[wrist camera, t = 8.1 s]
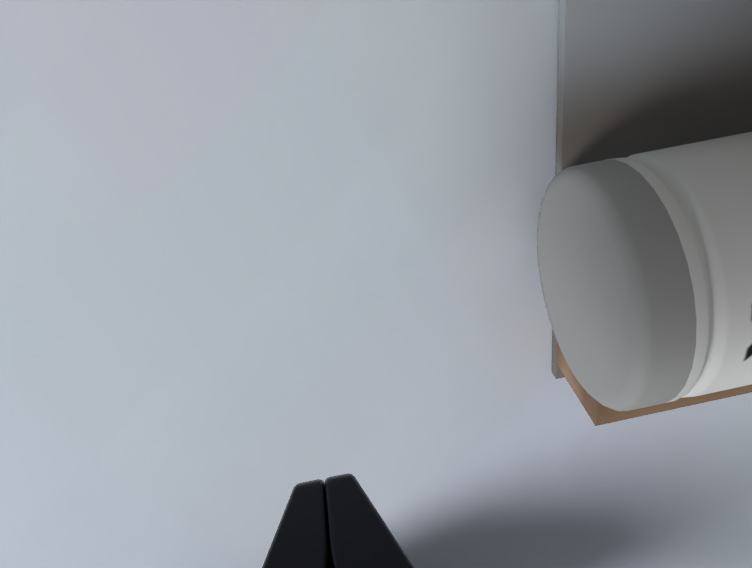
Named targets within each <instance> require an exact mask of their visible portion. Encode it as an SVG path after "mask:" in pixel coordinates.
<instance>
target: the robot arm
mask: <svg viewBox="0 0 752 568" xmlns="http://www.w3.org/2000/svg"><path fill="white" fill-rule="evenodd" d="M262 568H414V567H413V565H412V564H411V562H410V561H409V559H408V558H407V556H406V555H405V553H404V551H403V550H402V548H401V547H400V545H399V544H398V542H397V541H396V539H395V538H394V536H393V535H392V533H391V532H390V530H389V529H388V527H387V526H386V524H385V522H384V521H383V519H382V518H381V516H380V515H379V513H378V512H377V510H376V509H375V507H374V506H373V504H372V503H371V501H370V500H369V498H368V497H367V495H366V494H365V492H364V490H363V489H362V487H361V486H360V484H359V483H358V481H357V480H356V478H355V477H354V476H353V475H352V474H343V475H338V476H333V477H329V478H327V479H326V480H325V483H324V482H323V481H322V480H319V479H318V480H313V481H308V482H303V483H299V484H297V485H296V486H295V487H294V489H293V491H292V494H291V496H290V499H289V501H288V504H287V506H286V509H285V511H284V514H283V516H282V519H281V522H280V524H279V527H278V529H277V532H276V534H275V537H274V539H273V542H272V544H271V547H270V549H269V552H268V554H267V557H266V559H265V562H264V564H263V567H262Z"/></svg>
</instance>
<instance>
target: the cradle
mask: <svg viewBox="0 0 752 568" xmlns="http://www.w3.org/2000/svg"><path fill="white" fill-rule="evenodd" d="M747 132H752V0H559V34H558V83H557V132H556V175H557V174H558V173H559V172H560V171H562V170H564V169H566V168H567V167H571V166H576V165H581V164H586V163H591V162H597V161H602V160H607V159H612V158H626V157H628V156H630V155H633V154H638V153H643V152H649V151H654V150H659V149H664V148H669V147H674V146H680V145H685V144H690V143H695V142H700V141H706V140H711V139H716V138H721V137H726V136H732V135H737V134H742V133H747ZM552 373H553V374H554V376H555V378H556V379H557V378H562V377H565V378H566V379H567V381H568V383H569V384H570V386H571V387H572V389H573V391H574V392H575V394H576V395H577V397H578V399H579V400H580V402H581V403H582V405H583V407H584V408H585V410H586V411H587V413H588V414H589V416H590V418H591V419H592V421H593V422H594V424H595V426H597V425H602V424H606V423H611V422H616V421H620V420H625V419H629V418H634V417H639V416H643V415H648V414H653V413H657V412H662V411H666V410H671V409H676V408H680V407H685V406H690V405H694V404H699V403H703V402H708V401H713V400H717V399H722V398H727V397H731V396H736V395H740V394H745V393H750V392H752V384H751V385H746V386H742V387H737V388H733V389H728V390H723V391H719V392H714V393H709V394H705V395H700V396H695V397H684V398H679V399H678V400H676V401H672V402H668V403H663V404H658V405H654V406H649V407H644V408H640V409H635V410H630V411H616V410H613V409H610V408H608V407H606V406H603V405H602V404H600V403H599V402H598V401H597V400H595V399H594V398H593V397H592V396H591V395H590V394H588V393H587V391H586V390H585V389H584V388H583V387H582V386H581V384H580V383H579V382H578V380H577V379H576V377H575V376H574V374H573V373H572V371H571V369H570V368H569V366H568V364H567V362H566V360H565V358H564V356H563V354H562V352H561V349H560V347H559V344H558V342H557V340H556V337H555V334H554V331H553V330H552Z"/></svg>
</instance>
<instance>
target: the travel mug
mask: <svg viewBox="0 0 752 568" xmlns="http://www.w3.org/2000/svg"><path fill="white" fill-rule="evenodd" d="M537 252H538V265H539V272H540V280H541V286H542V291H543V295H544V300H545V304H546V308H547V312H548V315H549V319H550V322H551V325H552V328H553V331H554V334H555V337H556V340H557V342H558V344H559V347H560V349H561V352H562V354H563V356H564V358H565V360H566V362H567V364H568V366H569V368H570V369H571V371H572V373H573V374H574V376H575V377H576V379H577V380H578V382H579V383H580V384H581V386H582V387H583V388H584V389H585V390H586V391H587V393H588V394H590V395H591V396H592V397H593V398H594V399H595V400H597V401H598V402H599V403H600V404H602V405H603V406H606V407H608V408H610V409H613V410H616V411H630V410H635V409H640V408H644V407H649V406H654V405H658V404H663V403H668V402H672V401H676V400H678V399H679V398H684V397H695V396H700V395H705V394H709V393H714V392H719V391H723V390H728V389H733V388H737V387H742V386H746V385H751V384H752V132H747V133H742V134H737V135H732V136H726V137H721V138H716V139H711V140H706V141H700V142H695V143H690V144H685V145H680V146H674V147H669V148H664V149H659V150H654V151H649V152H643V153H638V154H633V155H630V156H628V157H626V158H612V159H607V160H602V161H597V162H591V163H586V164H581V165H576V166H571V167H567V168H566V169H564V170H562V171H560V172H559V173H558V174H557V175H556V176H555V177H554V178H553V180H552V181H551V182H550V184H549V186H548V188H547V190H546V192H545V195H544V197H543V200H542V203H541V207H540V212H539V217H538V228H537Z"/></svg>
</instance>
